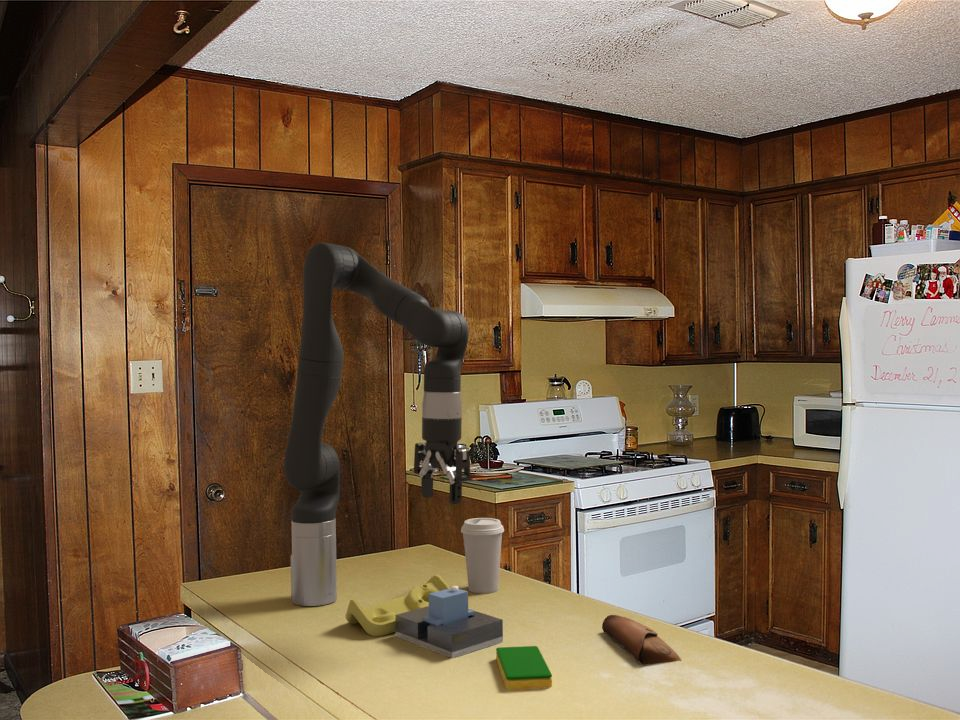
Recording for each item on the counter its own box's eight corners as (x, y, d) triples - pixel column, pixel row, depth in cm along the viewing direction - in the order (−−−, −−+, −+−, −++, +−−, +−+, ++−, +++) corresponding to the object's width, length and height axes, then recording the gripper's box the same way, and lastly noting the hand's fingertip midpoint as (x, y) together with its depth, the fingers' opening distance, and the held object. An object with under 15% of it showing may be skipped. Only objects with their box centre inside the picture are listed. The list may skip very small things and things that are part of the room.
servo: (422, 637, 158) (422, 591, 158) (460, 625, 164) (459, 581, 164) (437, 642, 155) (436, 595, 155) (474, 630, 161) (474, 585, 161)
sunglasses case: (686, 660, 147) (667, 628, 146) (653, 685, 146) (633, 652, 145) (643, 628, 165) (626, 598, 164) (613, 649, 163) (595, 620, 163)
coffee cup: (478, 581, 200) (477, 515, 199) (513, 587, 194) (512, 519, 194) (452, 591, 192) (451, 522, 192) (488, 597, 186) (487, 527, 186)
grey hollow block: (395, 636, 162) (395, 615, 162) (445, 622, 170) (445, 601, 170) (452, 658, 150) (451, 634, 150) (502, 641, 158) (502, 619, 158)
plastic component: (373, 627, 160) (348, 593, 167) (367, 658, 163) (343, 623, 170) (461, 600, 172) (434, 569, 179) (454, 629, 175) (428, 597, 182)
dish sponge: (537, 659, 150) (537, 645, 150) (552, 690, 137) (552, 674, 136) (496, 661, 150) (495, 646, 150) (506, 692, 136) (506, 676, 136)
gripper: (481, 417, 164) (480, 503, 164) (434, 411, 175) (433, 493, 175) (450, 419, 159) (449, 508, 159) (403, 413, 170) (402, 497, 170)
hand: (440, 500), depth 167 cm, fingers open, 8 cm apart
